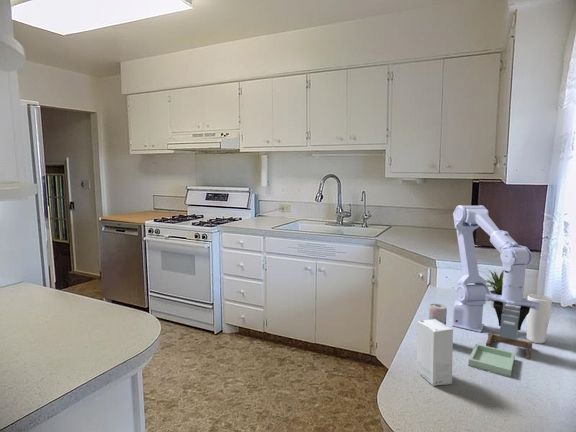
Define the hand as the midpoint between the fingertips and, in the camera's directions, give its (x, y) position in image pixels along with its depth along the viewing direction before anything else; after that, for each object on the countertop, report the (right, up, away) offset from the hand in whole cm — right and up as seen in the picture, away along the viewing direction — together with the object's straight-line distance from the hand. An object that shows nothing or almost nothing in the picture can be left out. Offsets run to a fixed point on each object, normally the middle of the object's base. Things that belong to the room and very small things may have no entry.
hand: (509, 327), depth 121 cm
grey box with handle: (0, -2, 0) cm, 2 cm away
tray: (-10, -8, -8) cm, 15 cm away
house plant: (+18, -3, +41) cm, 45 cm away
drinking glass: (+13, -7, +8) cm, 17 cm away
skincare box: (-31, -9, -17) cm, 36 cm away
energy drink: (-21, -7, +6) cm, 23 cm away
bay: (0, -7, +1) cm, 7 cm away
